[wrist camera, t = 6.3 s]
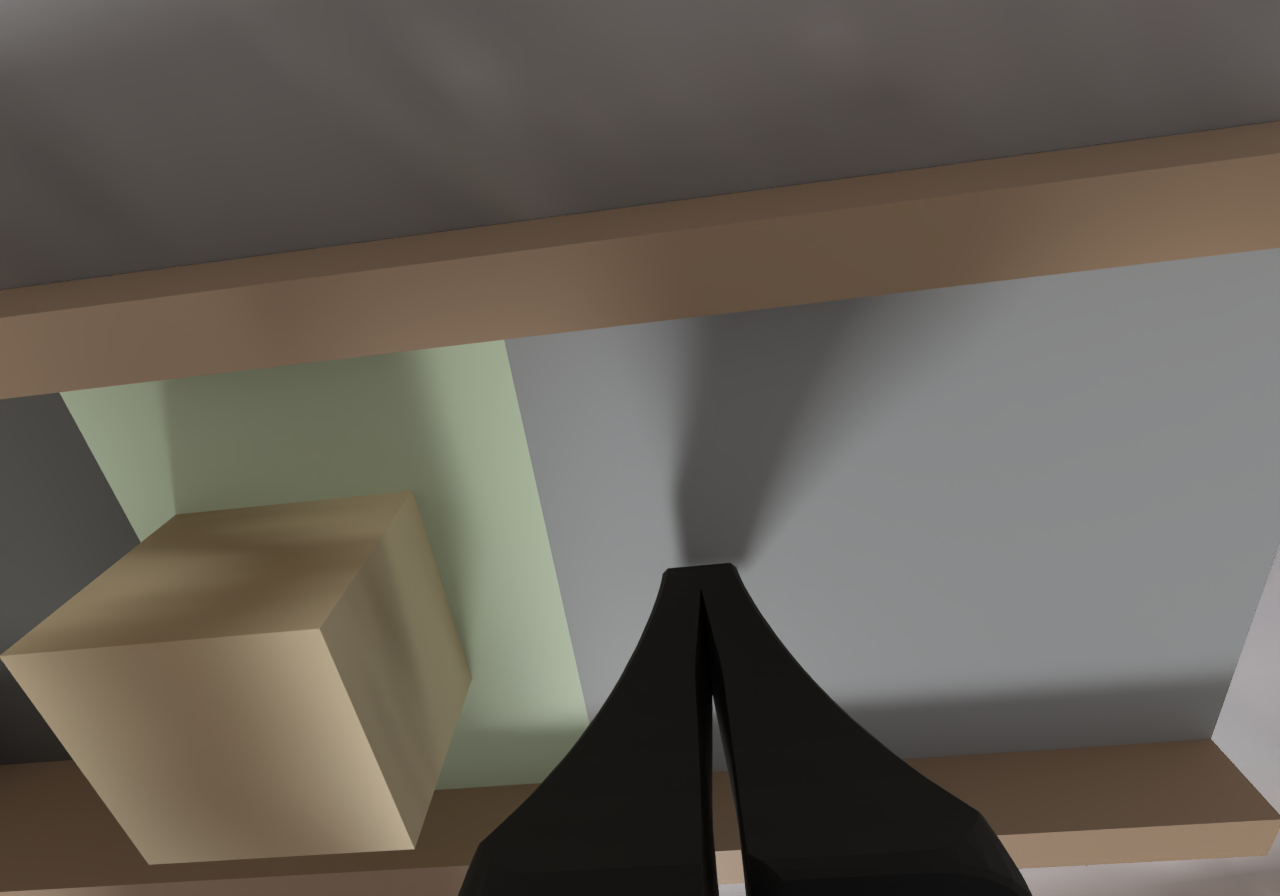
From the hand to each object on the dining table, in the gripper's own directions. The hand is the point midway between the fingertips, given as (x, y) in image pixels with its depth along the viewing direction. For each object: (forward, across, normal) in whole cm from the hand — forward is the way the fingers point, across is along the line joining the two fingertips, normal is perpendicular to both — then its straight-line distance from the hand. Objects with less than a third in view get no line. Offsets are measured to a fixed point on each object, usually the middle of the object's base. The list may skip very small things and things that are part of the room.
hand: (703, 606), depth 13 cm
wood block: (+1, +8, 0) cm, 8 cm away
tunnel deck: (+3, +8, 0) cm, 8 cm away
